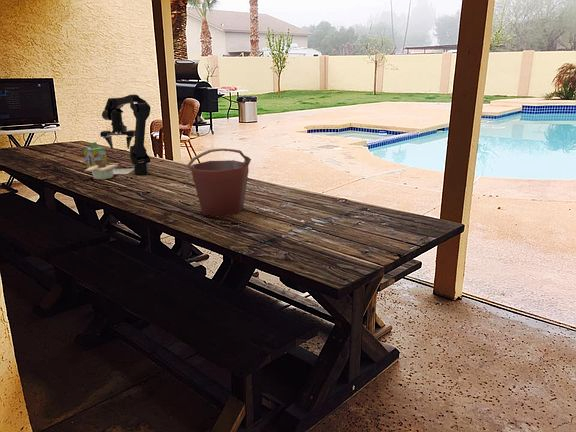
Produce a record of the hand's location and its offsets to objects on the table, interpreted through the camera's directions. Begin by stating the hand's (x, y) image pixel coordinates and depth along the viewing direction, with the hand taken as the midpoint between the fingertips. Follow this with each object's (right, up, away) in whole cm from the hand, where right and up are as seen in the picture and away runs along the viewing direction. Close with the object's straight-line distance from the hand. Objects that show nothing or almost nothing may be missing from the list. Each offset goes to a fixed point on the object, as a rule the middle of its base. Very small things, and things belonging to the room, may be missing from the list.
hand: (120, 148), depth 274 cm
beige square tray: (-4, -13, -16) cm, 21 cm away
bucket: (+69, -36, -80) cm, 112 cm away
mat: (-1, -13, 0) cm, 13 cm away
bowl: (-4, -18, -14) cm, 23 cm away
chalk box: (-19, -9, +14) cm, 25 cm away
